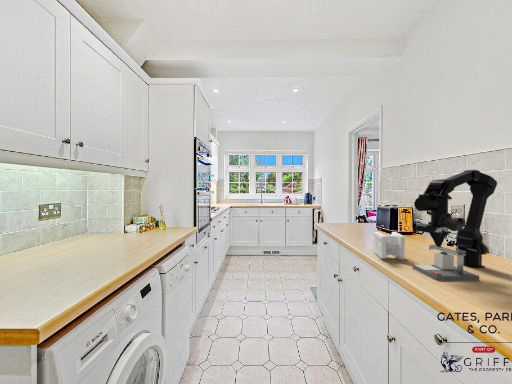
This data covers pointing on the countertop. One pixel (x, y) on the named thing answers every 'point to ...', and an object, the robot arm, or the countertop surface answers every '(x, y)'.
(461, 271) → the grey bracket
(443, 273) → the grey flat panel
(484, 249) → the robot arm
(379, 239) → the cable organizer
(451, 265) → the light grey block
